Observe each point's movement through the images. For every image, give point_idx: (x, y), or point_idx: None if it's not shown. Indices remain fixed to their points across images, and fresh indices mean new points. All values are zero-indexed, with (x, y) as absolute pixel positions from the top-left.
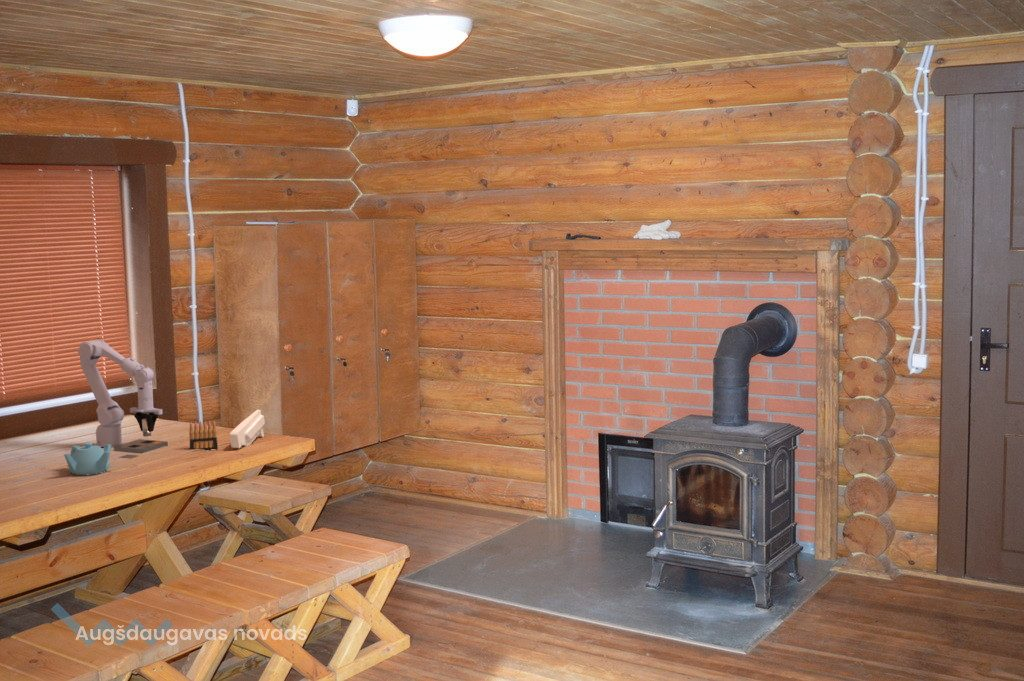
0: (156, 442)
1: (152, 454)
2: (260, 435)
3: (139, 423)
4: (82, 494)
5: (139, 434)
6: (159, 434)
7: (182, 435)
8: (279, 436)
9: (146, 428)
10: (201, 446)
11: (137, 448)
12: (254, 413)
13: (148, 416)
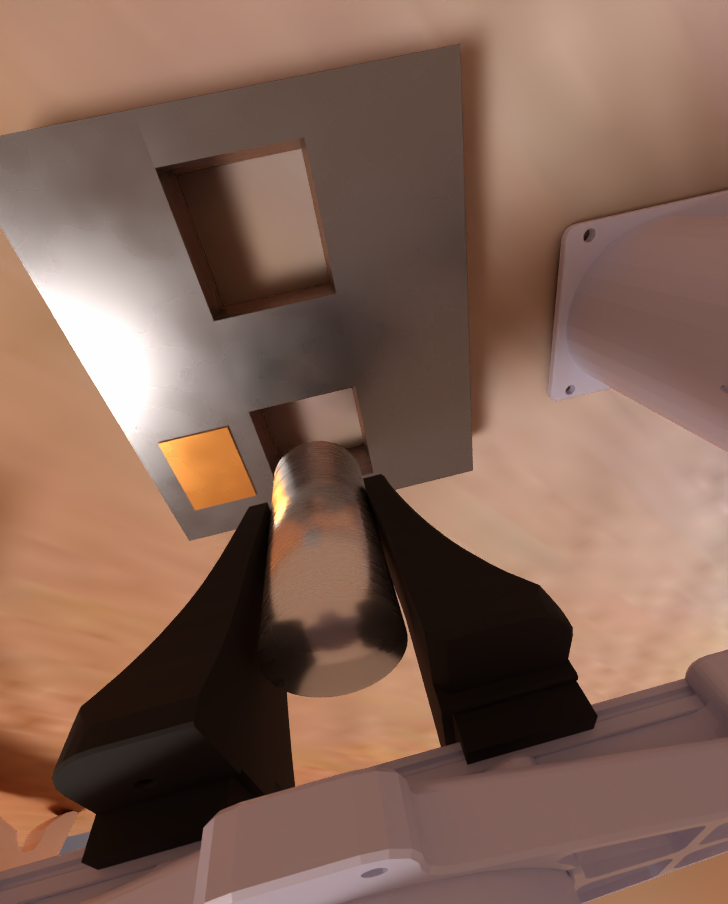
0: (220, 471)
1: (3, 271)
2: (42, 824)
3: (409, 529)
4: None
5: (639, 580)
6: None
7: (416, 670)
8: (20, 843)
9: (278, 514)
10: None
11: (76, 151)
12: None
13: (93, 723)
